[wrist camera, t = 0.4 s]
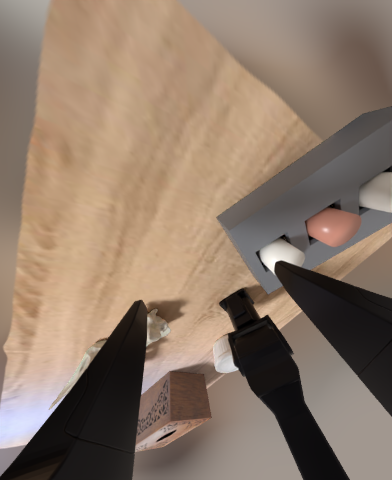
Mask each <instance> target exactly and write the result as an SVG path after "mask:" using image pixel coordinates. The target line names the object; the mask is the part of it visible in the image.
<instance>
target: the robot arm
mask: <svg viewBox="0 0 392 480" xmlns="http://www.w3.org/2000/svg"><path fill="white" fill-rule="evenodd" d="M274 273H275V275H276V276H277V278H278V279H279V281H280V282H281V284H282V285H283V286H284V288H285V289H286V291H287V292H288V294H289V295H290V296H291V297H292V299H293V300H294V301H295V302H296V303H297V305H298V306H299V307H300V308H301V309H302V310H303V312H304V313H305V314H306V315H307V316H308V318H309V319H310V320H311V321H312V322H313V323H314V325H315V326H316V327H317V328H318V329H319V331H320V332H321V333H322V334H323V335H324V337H325V338H326V339H327V340H328V341H329V343H330V344H331V345H332V346H333V347H334V348H335V349H336V351H337V352H338V353H339V354H340V356H341V357H342V358H343V359H344V360H345V362H346V363H347V364H348V365H349V366H350V368H351V369H352V370H353V371H354V372H355V373H356V375H358V377H359V378H360V380H361V381H362V382H363V383H364V384H365V385H366V387H367V388H368V389H369V390H370V392H371V393H372V394H373V395H374V396H375V397H376V399H377V400H378V401H379V402H380V403H381V404H382V406H383V407H384V408H385V409H386V411H387V412H388V413H389V414H390V415H391V416H392V298H388V297H385V296H382V295H379V294H376V293H373V292H370V291H367V290H365V289H362V288H359V287H355V286H353V285H350V284H348V283H345V282H342V281H339V280H336V279H333V278H331V277H328V276H325V275H322V274H319V273H316V272H314V271H311V270H308V269H305V268H302V267H299V266H297V265H294V264H291V263H288V262H285V261H282V260H280V261H277V262H275V267H274ZM252 304H254V302H253V300H252V299H251V298H250V296H249V295H248V294H247V292H246V291H245V290H244V289H241V290H239V291H238V292H236V293H234V294H233V295H231V296H229V297H228V298H226V299H224V300H223V301H221V302H220V303H219V305H220V306H221V307H222V308H223V309H224V310H225V311H226V312H227V313H228V315H229V317H230V320H231V322H232V324H233V327H234V329H235V331H234V332H232V333H228V342H229V345H230V348H231V352H232V358H233V363H234V366H235V367H237V368H238V369H239V371H240V372H241V374H242V376H243V377H245V376H246V379H247V381H248V384H249V386H250V388H251V390H252V391H253V392H254V393H255V394H256V396H257V397H258V398H260V399H261V400H262V402H263V403H264V404H265V405H266V406H267V407H268V408H269V409H270V410H271V411H272V412H273V413H274V415H275V417H276V419H277V421H278V423H279V426H280V428H281V430H282V432H283V435H284V437H285V439H286V441H287V443H288V446H289V448H290V451H291V453H292V455H293V457H294V459H295V462H296V464H297V466H298V469H299V471H300V473H301V475H302V478H303V480H350V479H349V478H348V476H347V474H346V472H345V471H344V469H343V467H342V466H341V464H340V462H339V460H338V459H337V457H336V455H335V453H334V452H333V450H332V448H331V447H330V445H329V443H328V441H327V440H326V438H325V436H324V434H323V433H322V431H321V429H320V428H319V426H318V424H317V423H316V421H315V419H314V417H313V416H312V414H311V412H310V410H309V409H308V407H307V405H306V404H305V401H304V396H303V391H302V385H301V380H300V375H299V369H298V367H297V365H296V363H295V362H294V360H293V359H292V357H291V355H293V354H294V353H293V351H292V349H291V348H290V346H289V344H288V343H287V341H286V340H285V338H284V337H283V335H282V334H281V332H280V331H279V329H278V328H277V327H276V325H275V324H274V323H273V321H272V320H271V319H270V317H269V316H268V315H266V316H265V317H263V318H260V316H259V315H258V313H257V311H256V310H255V308H254V306H253V305H252ZM146 344H147V307H146V306H145V304H144V302H143V301H142V300H138V301H135V302H134V303H133V305H132V306H131V307H130V309H129V310H128V312H127V313H126V314H125V316H124V317H123V318H122V320H121V321H120V323H119V324H118V325H117V327H116V328H115V329H114V331H113V332H112V334H111V335H110V336H109V338H108V339H107V341H106V342H105V343H104V345H103V346H102V347H101V349H100V350H99V352H98V353H97V354H96V356H95V357H94V358H93V360H92V361H91V363H90V364H89V365H88V368H86V369H85V371H84V372H83V374H82V375H81V376H80V378H79V379H78V380H77V382H76V383H75V384H74V386H73V387H72V388H71V390H70V391H69V392H68V394H67V395H66V396H65V398H64V399H63V400H62V401H61V403H60V404H59V405H58V407H57V408H56V409H55V410H54V412H53V413H52V414H51V415H50V417H49V418H48V419H47V420H46V422H45V423H44V424H43V425H42V427H41V428H40V429H39V430H38V432H37V433H36V434H35V435H34V437H33V438H32V439H31V440H30V442H29V443H28V444H27V445H26V447H25V448H24V449H23V450H22V452H21V453H20V454H19V455H18V456H17V458H16V459H15V460H14V461H13V463H12V464H11V465H10V466H9V467H8V468H7V470H6V471H5V472H4V473H3V474H2V475H1V476H0V480H132V475H133V466H134V456H135V454H134V453H135V446H136V437H137V428H138V418H139V409H140V400H141V390H142V381H143V372H144V363H145V353H146Z"/></svg>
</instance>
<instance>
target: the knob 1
mask: <svg viewBox="0 0 392 480" xmlns="http://www.w3.org/2000/svg"><path fill="white" fill-rule="evenodd" d="M255 253H256V255H257V257H258V258H259V259H260V260H261V261H262V262H263V263H264V264H265V265H266V266H267V267H268V268H269V269H270V270H271V271H272V272H273V273H274V267H275V262H277V261H280V260H282V261H285V262H288V263H291V264H294V265H297V266H299V267H301V266H302V264H303V263H304V260H305V255H304V253H303V252H302V251H300V250H299V249H297V248H295V247H294V246H292V245H291V244H289V243H288V242H286V241H285V240H283V239H281V238H280V237H279V238H277V239H276V240H274V241H273V242H271V243H269V244H268V245H266V246H265V247H263V248H262V249H260V250H258V251H257V252H255ZM274 274H275V273H274Z"/></svg>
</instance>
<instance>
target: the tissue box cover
mask: <svg viewBox="0 0 392 480" xmlns="http://www.w3.org/2000/svg"><path fill="white" fill-rule="evenodd" d="M210 418H212V417H211V412H210V406H209V400H208V395H207V389H206V383H205V378H204V374H194V373H183V372H171V371H169V372H168V373H167V374H166V375H165V376H163V377H162V378H161V379H160V380H159V381H158V382H156V383H155V384H154V385H153V386H152V387H151V388H149V389H148V390H147V391H146V392H145V393H143V394H142V395H141V400H140V409H139V418H138V428H137V437H136V446H135V452H137V451H143V450H148V449H153V448H158V447H164V446H165V445H167V444H169V443H170V442H172V441H174V440H175V439H177V438H179V437H180V436H182V435H184V434H185V433H187V432H189V431H190V430H192V429H194V428H195V427H197V426H199V425H200V424H202V423H204V422H205V421H207V420H209V419H210Z"/></svg>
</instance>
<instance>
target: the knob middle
mask: <svg viewBox="0 0 392 480" xmlns="http://www.w3.org/2000/svg"><path fill="white" fill-rule="evenodd" d="M305 226H306V230H307V234H308V235H309V236H311V237H313V238H315V239H317V240H319V241H321V242H323V243H325V244H327V245H329V246H331V247H337V246H340V245H343V244H344V243H346V242H348V241H349V240H350V239H351V238H352V237H353V236H354V235H355V234H356V233H357V231H358V230H359V228H360V226H361V217H360V216H359V215H357V214H353V213H349V212H345V211H342V210H338V209H334V208H330V207H326V208H324V209H323V210H321V211H320V212H318V213H317V214H315V215H313V216H312V217H310V218H309V219H307V220H306V221H305Z"/></svg>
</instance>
